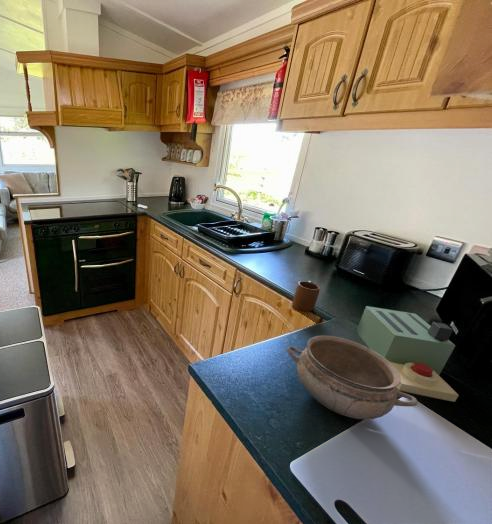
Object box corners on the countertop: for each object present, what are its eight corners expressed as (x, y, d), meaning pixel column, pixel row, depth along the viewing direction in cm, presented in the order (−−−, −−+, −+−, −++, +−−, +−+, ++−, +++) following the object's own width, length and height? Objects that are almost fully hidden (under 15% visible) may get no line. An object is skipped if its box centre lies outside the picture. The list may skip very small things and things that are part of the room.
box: (430, 376, 79) (436, 364, 78) (454, 402, 71) (462, 389, 69) (380, 367, 81) (385, 355, 80) (398, 390, 73) (405, 378, 72)
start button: (424, 369, 76) (427, 364, 75) (433, 378, 73) (436, 373, 72) (408, 366, 77) (411, 361, 76) (417, 375, 73) (419, 370, 73)
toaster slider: (439, 334, 80) (445, 323, 79) (447, 341, 78) (453, 329, 76) (427, 332, 81) (432, 321, 80) (434, 338, 78) (440, 327, 77)
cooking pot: (267, 395, 69) (280, 353, 64) (288, 357, 83) (299, 320, 78) (403, 466, 54) (430, 418, 50) (400, 405, 68) (421, 364, 64)
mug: (295, 296, 120) (300, 276, 117) (315, 302, 117) (322, 281, 113) (290, 307, 111) (296, 285, 108) (312, 314, 107) (319, 291, 104)
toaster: (403, 339, 95) (415, 313, 92) (439, 375, 80) (455, 345, 76) (355, 331, 98) (366, 305, 94) (381, 364, 83) (395, 334, 79)
